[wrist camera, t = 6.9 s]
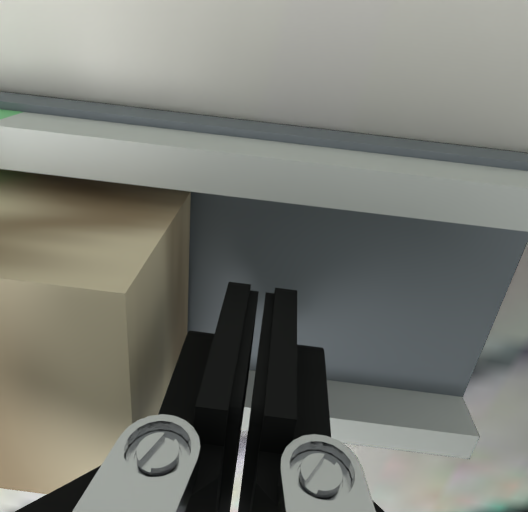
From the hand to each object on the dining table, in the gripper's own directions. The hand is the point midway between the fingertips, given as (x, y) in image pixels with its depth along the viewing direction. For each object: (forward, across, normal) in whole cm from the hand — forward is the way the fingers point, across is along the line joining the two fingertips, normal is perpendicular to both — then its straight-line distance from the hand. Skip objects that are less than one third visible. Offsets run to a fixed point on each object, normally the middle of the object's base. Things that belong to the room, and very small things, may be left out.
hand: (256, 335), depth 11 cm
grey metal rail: (+4, +6, 0) cm, 7 cm away
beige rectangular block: (+2, +5, 0) cm, 6 cm away
